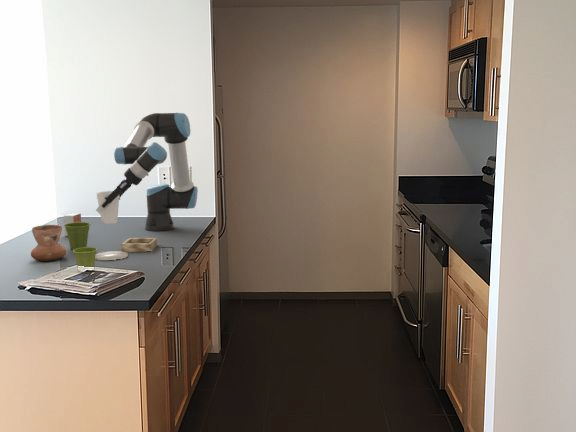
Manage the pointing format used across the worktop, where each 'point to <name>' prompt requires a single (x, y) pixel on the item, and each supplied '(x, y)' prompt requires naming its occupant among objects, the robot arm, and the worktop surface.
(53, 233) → the ceramic jug
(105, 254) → the disc
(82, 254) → the plant pot
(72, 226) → the plant pot
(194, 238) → the worktop surface
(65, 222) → the small box
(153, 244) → the holder
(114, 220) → the foam cup
